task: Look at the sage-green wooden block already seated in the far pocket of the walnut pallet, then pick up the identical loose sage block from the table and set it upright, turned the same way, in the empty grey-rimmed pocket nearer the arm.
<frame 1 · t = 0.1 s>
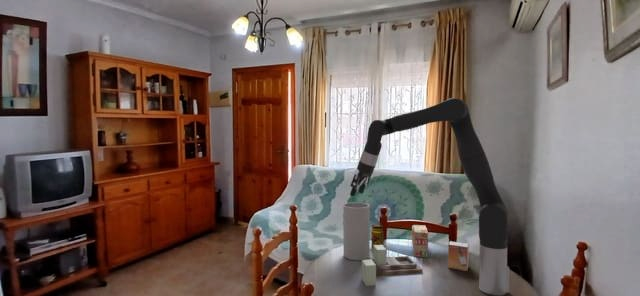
hand: (356, 194, 155), 31 cm above the table, tool tilted 20°, fingers open, 8 cm apart
stack of blocks: (419, 250, 171), on the table
condiment: (378, 248, 174), on the table
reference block: (379, 265, 147), resting on pallet
pallet: (391, 267, 148), on the table
loose block: (368, 282, 134), on the table
cylinder vase: (356, 256, 162), on the table
small box: (458, 267, 148), on the table
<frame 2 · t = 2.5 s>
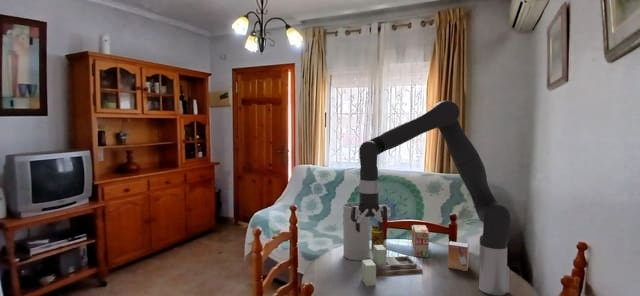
hand: (368, 231, 134), 20 cm above the table, tool pointing down, fingers open, 8 cm apart
nothing on the table moved.
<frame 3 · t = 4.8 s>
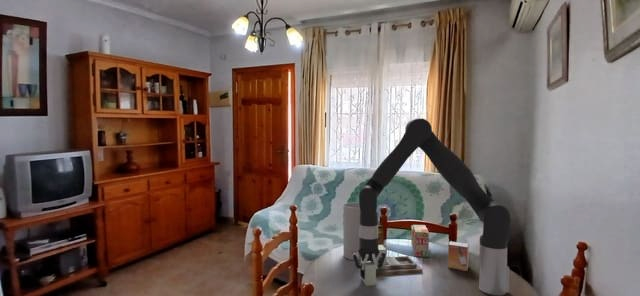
hand: (368, 277, 134), 2 cm above the table, tool pointing down, fingers closed on loose block, 4 cm apart
loose block: (368, 282, 134), on the table, touching gripper
everything else where it was.
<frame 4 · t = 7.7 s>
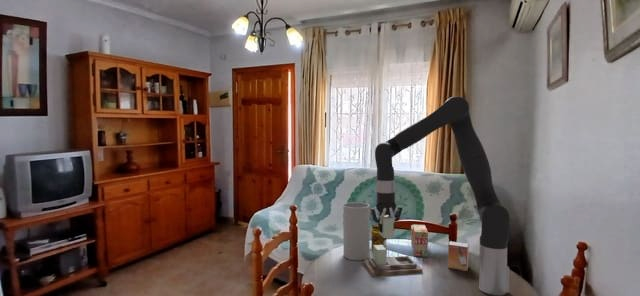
hand: (386, 231, 139), 19 cm above the table, tool pointing down, fingers closed on loose block, 4 cm apart
loose block: (386, 235, 139), point 17 cm above the table, touching gripper
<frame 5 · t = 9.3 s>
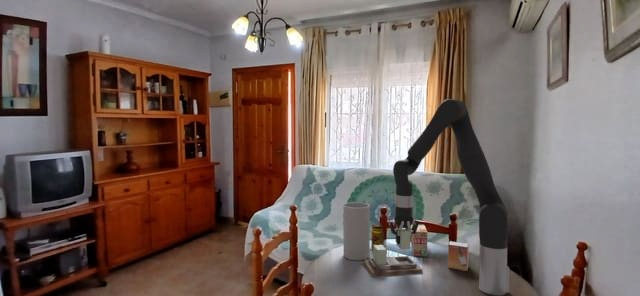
hand: (403, 243, 148), 11 cm above the table, tool pointing down, fingers closed on loose block, 4 cm apart
loose block: (403, 247, 148), point 9 cm above the table, touching gripper
when the fingers open (4 cm above the table, at t = 10.8 s): loose block stays where it is, resting on pallet.
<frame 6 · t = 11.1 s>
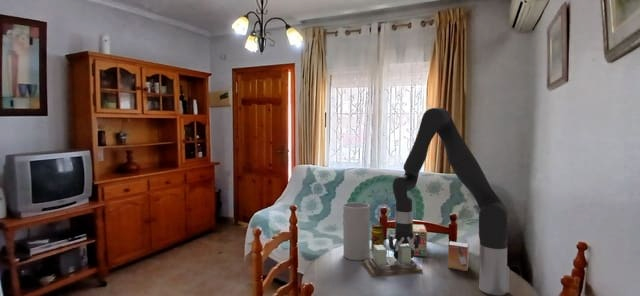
hand: (403, 257, 148), 4 cm above the table, tool pointing down, fingers open, 6 cm apart
loose block: (403, 263, 149), point 1 cm above the table, touching pallet
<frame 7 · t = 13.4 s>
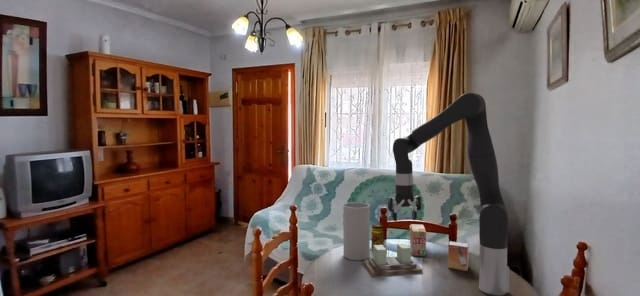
hand: (404, 220, 146), 21 cm above the table, tool pointing down, fingers open, 8 cm apart
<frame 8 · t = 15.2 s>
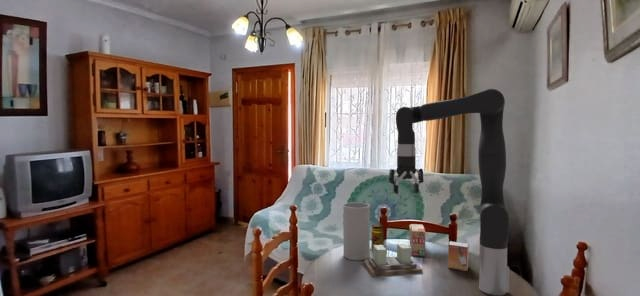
hand: (406, 193, 141), 34 cm above the table, tool pointing down, fingers open, 8 cm apart
at the end: loose block 0.0 cm from the target spot on the pallet, point 1.5 cm above the pallet's base; loose block tilted 0°; the gripper is holding nothing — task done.
